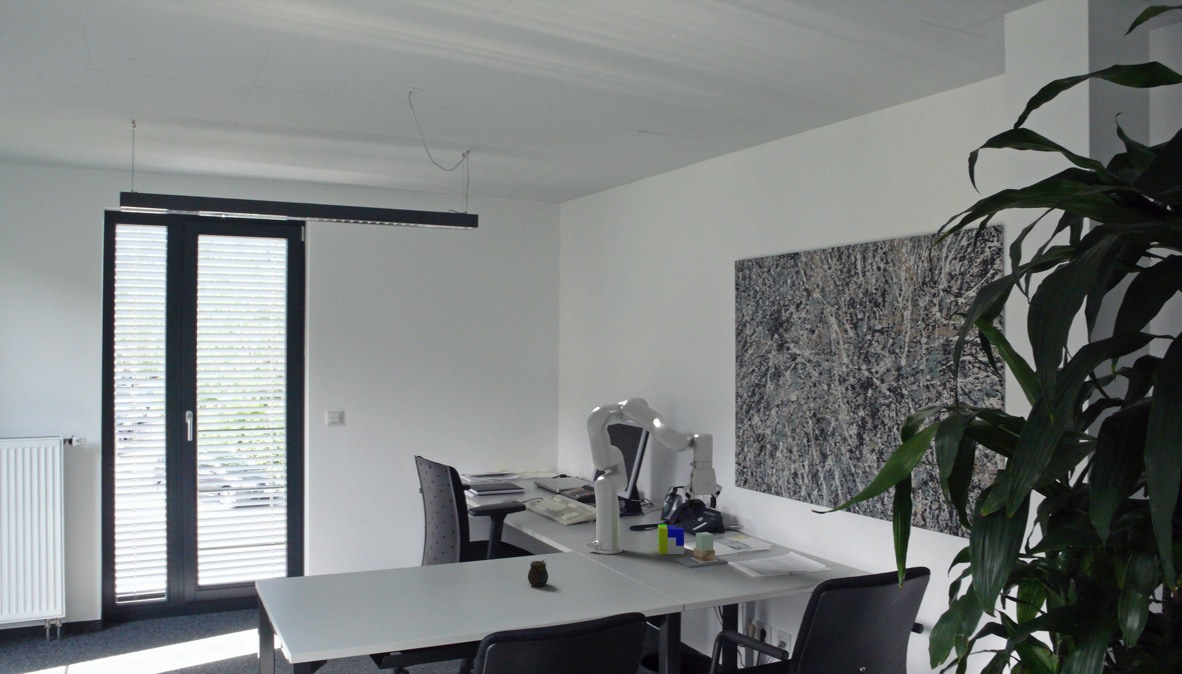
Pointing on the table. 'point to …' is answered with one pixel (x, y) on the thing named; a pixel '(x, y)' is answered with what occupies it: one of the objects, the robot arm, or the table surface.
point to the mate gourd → (538, 573)
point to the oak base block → (704, 555)
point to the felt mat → (699, 562)
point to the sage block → (704, 541)
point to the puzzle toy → (670, 539)
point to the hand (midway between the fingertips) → (702, 508)
